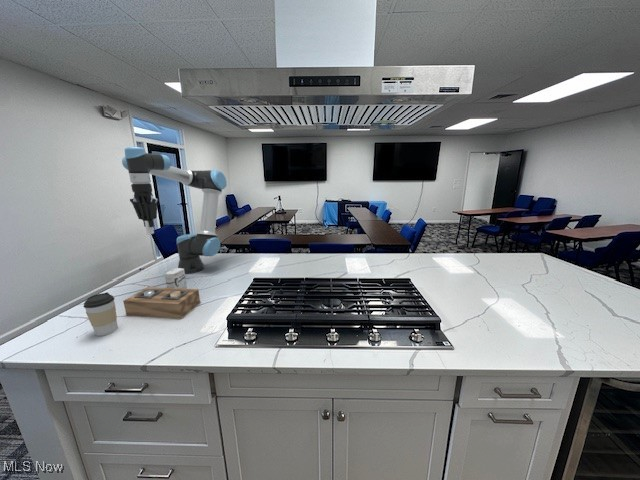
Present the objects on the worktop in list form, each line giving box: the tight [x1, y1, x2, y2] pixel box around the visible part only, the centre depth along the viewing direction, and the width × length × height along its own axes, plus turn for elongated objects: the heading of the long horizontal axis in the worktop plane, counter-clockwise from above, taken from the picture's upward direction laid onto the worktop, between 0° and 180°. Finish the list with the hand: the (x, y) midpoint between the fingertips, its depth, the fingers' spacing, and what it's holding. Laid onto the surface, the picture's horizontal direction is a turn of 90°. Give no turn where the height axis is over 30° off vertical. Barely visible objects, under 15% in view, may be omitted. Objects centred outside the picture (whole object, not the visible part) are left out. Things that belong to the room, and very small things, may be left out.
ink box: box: [164, 267, 188, 289], centre depth 130 cm, size 9×5×12 cm, turn 168°
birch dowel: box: [170, 291, 181, 297], centre depth 112 cm, size 4×4×7 cm
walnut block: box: [122, 286, 201, 319], centre depth 113 cm, size 14×26×7 cm, turn 83°
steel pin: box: [144, 290, 155, 296], centre depth 114 cm, size 4×4×7 cm
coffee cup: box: [83, 292, 119, 337], centre depth 97 cm, size 9×9×15 cm
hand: (150, 233), depth 119 cm, fingers closed
